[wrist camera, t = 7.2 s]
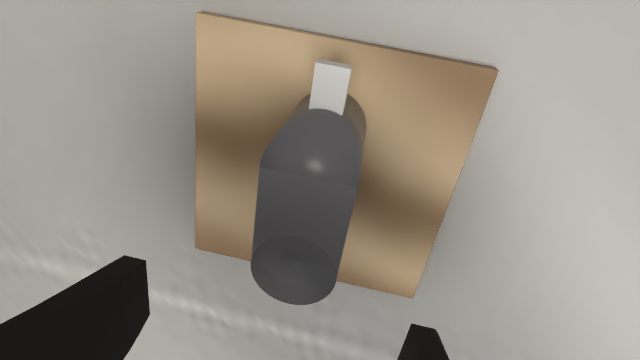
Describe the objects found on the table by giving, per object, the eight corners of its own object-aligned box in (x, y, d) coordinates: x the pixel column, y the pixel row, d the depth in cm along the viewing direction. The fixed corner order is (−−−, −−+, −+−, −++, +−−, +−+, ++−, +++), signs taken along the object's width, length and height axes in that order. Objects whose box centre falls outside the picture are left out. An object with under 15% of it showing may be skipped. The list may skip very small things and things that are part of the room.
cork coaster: (412, 290, 21) (412, 298, 20) (200, 241, 21) (195, 248, 21) (494, 67, 15) (498, 70, 14) (202, 11, 16) (195, 12, 15)
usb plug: (341, 236, 19) (328, 312, 15) (279, 223, 19) (248, 293, 15) (382, 59, 15) (380, 91, 11) (302, 44, 15) (268, 69, 11)
